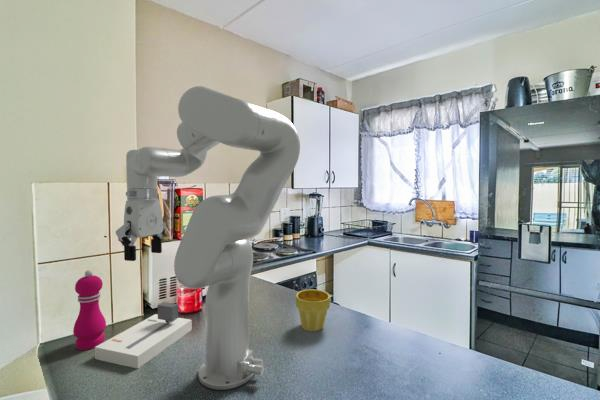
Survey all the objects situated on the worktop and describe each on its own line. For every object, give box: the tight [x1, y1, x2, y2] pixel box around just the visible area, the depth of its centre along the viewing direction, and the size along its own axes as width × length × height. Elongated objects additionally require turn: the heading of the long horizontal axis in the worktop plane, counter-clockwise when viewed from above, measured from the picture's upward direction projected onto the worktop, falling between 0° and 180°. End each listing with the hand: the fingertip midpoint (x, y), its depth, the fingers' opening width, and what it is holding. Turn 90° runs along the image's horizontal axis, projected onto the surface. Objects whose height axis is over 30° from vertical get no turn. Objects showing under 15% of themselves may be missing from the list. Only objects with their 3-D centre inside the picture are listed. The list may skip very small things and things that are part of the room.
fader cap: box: [157, 301, 179, 323], centre depth 87 cm, size 5×2×5 cm, turn 73°
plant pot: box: [295, 289, 331, 332], centre depth 93 cm, size 10×10×10 cm
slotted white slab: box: [94, 313, 193, 369], centre depth 82 cm, size 13×20×3 cm, turn 163°
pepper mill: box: [72, 269, 107, 351], centre depth 81 cm, size 7×7×20 cm
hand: (144, 256), depth 85 cm, fingers open, 9 cm apart
